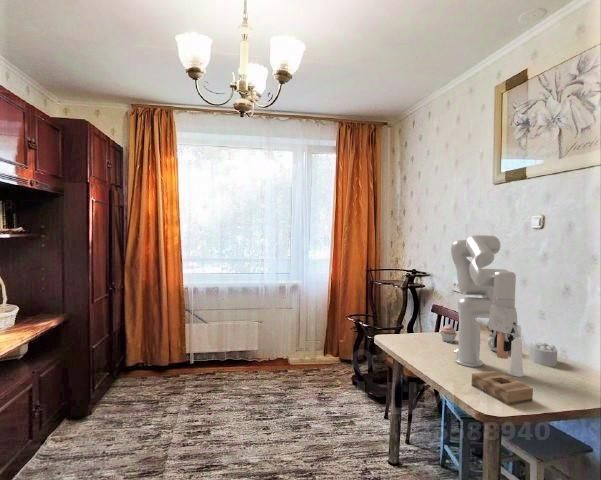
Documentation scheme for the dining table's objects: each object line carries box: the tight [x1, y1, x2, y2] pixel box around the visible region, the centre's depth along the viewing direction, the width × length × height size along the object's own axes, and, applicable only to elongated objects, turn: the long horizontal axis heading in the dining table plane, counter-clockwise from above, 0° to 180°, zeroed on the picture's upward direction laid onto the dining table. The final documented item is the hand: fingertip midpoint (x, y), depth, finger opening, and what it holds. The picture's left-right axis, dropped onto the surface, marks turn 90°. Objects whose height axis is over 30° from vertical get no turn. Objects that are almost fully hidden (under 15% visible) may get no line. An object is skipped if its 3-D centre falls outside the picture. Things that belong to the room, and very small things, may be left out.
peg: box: [496, 331, 509, 360], centre depth 150 cm, size 4×4×12 cm
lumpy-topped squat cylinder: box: [529, 342, 558, 368], centre depth 188 cm, size 10×13×9 cm
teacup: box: [487, 332, 497, 353], centre depth 204 cm, size 14×11×8 cm
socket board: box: [470, 370, 534, 406], centre depth 150 cm, size 18×12×5 cm, turn 18°
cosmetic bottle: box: [508, 324, 525, 378], centre depth 170 cm, size 6×6×22 cm
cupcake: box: [439, 323, 458, 343], centre depth 221 cm, size 9×9×10 cm
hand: (502, 348), depth 150 cm, fingers closed on peg, 4 cm apart
